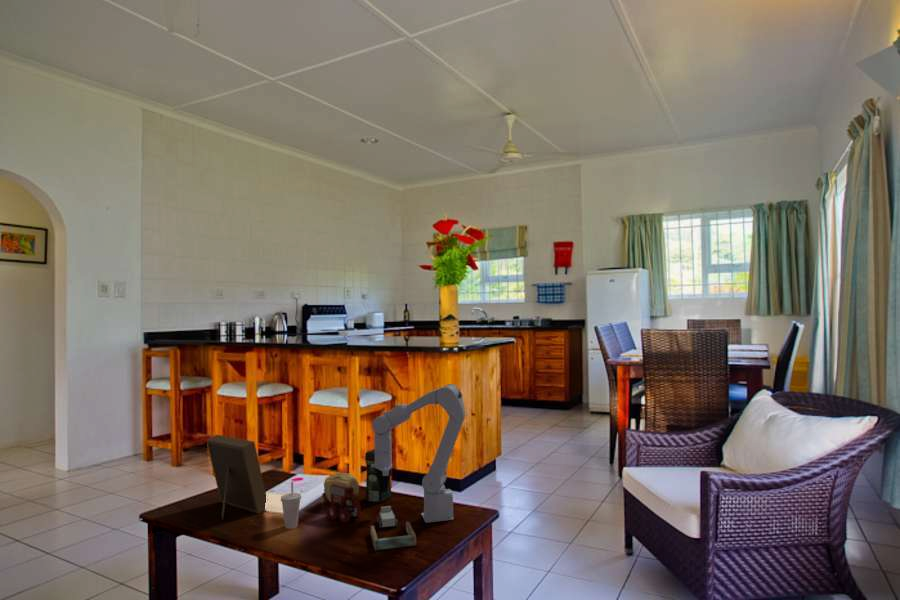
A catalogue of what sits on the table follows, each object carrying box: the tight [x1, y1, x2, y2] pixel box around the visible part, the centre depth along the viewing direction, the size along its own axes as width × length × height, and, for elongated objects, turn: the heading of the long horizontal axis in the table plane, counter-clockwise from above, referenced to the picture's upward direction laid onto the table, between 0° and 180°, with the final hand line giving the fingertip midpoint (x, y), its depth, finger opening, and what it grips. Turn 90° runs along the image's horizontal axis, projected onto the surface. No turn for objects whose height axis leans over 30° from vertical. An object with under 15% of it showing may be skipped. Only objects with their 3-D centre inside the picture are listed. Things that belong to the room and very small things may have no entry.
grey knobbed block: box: [377, 505, 398, 529], centre depth 171 cm, size 6×7×4 cm
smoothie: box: [280, 481, 302, 530], centre depth 170 cm, size 6×6×14 cm
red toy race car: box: [326, 484, 362, 523], centre depth 177 cm, size 7×12×10 cm, turn 59°
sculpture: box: [323, 472, 360, 503], centre depth 192 cm, size 11×12×11 cm
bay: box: [370, 521, 417, 551], centre depth 159 cm, size 12×12×2 cm
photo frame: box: [205, 434, 267, 520], centre depth 185 cm, size 15×22×25 cm
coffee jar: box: [364, 448, 392, 504], centre depth 195 cm, size 10×8×19 cm
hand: (383, 491), depth 179 cm, fingers closed
